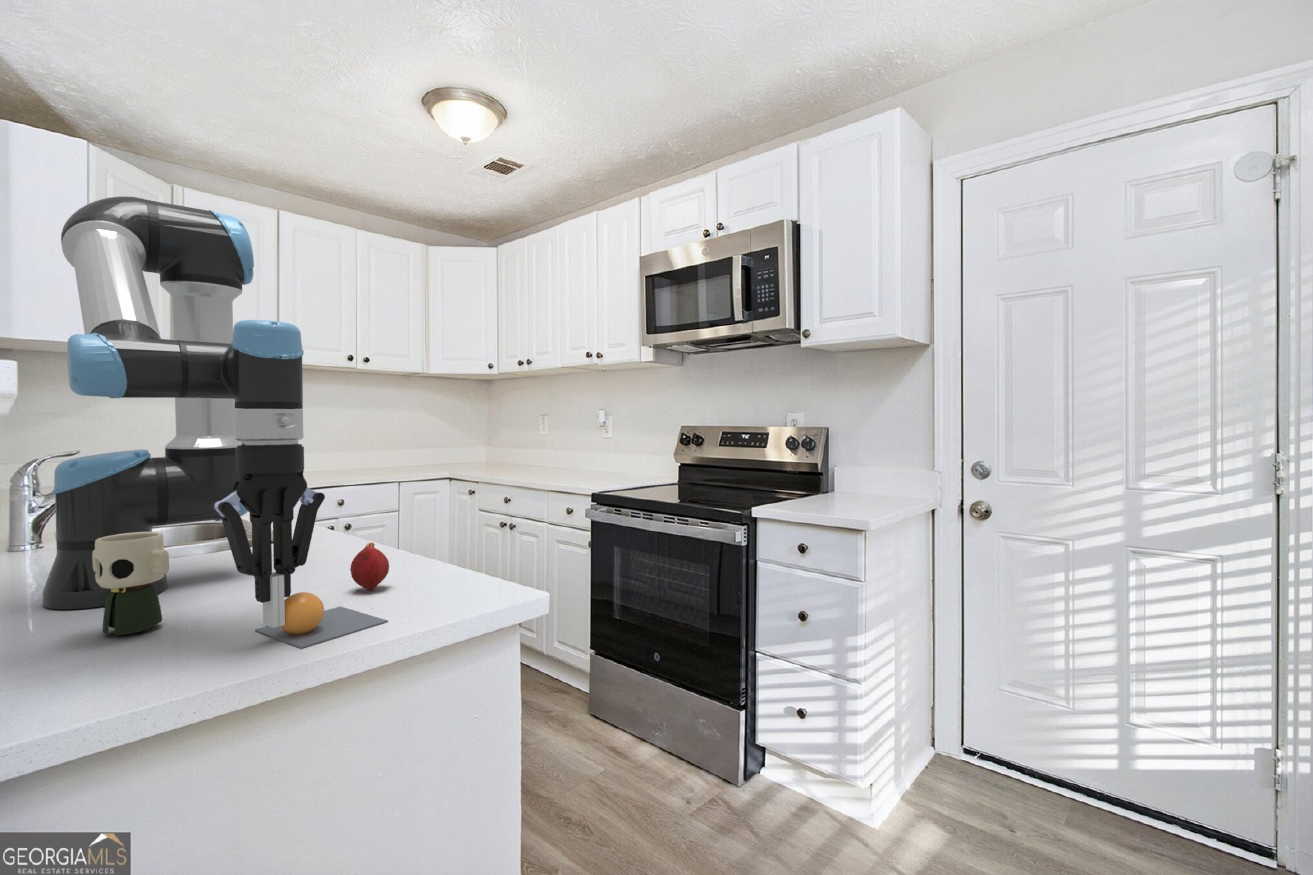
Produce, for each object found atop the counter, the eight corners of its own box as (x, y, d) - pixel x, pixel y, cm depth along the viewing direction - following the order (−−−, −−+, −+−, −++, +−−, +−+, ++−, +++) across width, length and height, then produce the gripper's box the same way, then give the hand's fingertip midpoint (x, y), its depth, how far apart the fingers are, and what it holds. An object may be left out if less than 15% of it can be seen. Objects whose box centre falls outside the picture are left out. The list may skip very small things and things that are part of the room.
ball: (272, 590, 83) (315, 586, 88) (267, 631, 83) (310, 625, 87) (291, 599, 80) (334, 595, 84) (285, 642, 80) (328, 636, 84)
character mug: (70, 639, 82) (66, 541, 81) (121, 621, 89) (118, 530, 89) (146, 641, 81) (142, 542, 80) (192, 623, 88) (189, 531, 88)
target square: (254, 630, 85) (254, 629, 85) (340, 607, 95) (340, 606, 95) (301, 648, 78) (301, 647, 78) (387, 621, 88) (387, 620, 88)
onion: (374, 596, 101) (373, 547, 101) (343, 594, 102) (341, 545, 102) (396, 586, 107) (395, 539, 106) (366, 584, 108) (365, 538, 107)
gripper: (227, 445, 73) (231, 645, 73) (335, 441, 84) (338, 616, 84) (199, 443, 77) (203, 633, 78) (306, 440, 88) (309, 607, 88)
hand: (274, 624), depth 81 cm, fingers closed
